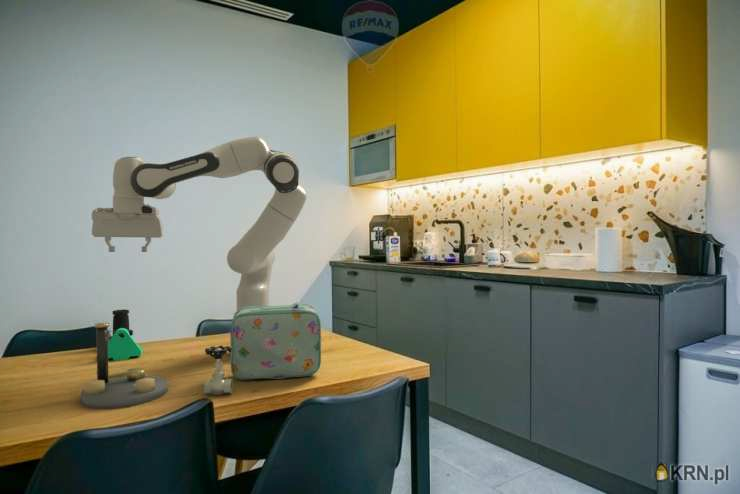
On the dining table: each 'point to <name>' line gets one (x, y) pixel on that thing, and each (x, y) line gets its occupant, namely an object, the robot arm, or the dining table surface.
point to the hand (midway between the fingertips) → (128, 251)
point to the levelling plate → (122, 392)
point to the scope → (120, 322)
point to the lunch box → (275, 342)
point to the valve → (218, 373)
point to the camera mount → (123, 346)
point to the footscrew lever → (103, 358)
